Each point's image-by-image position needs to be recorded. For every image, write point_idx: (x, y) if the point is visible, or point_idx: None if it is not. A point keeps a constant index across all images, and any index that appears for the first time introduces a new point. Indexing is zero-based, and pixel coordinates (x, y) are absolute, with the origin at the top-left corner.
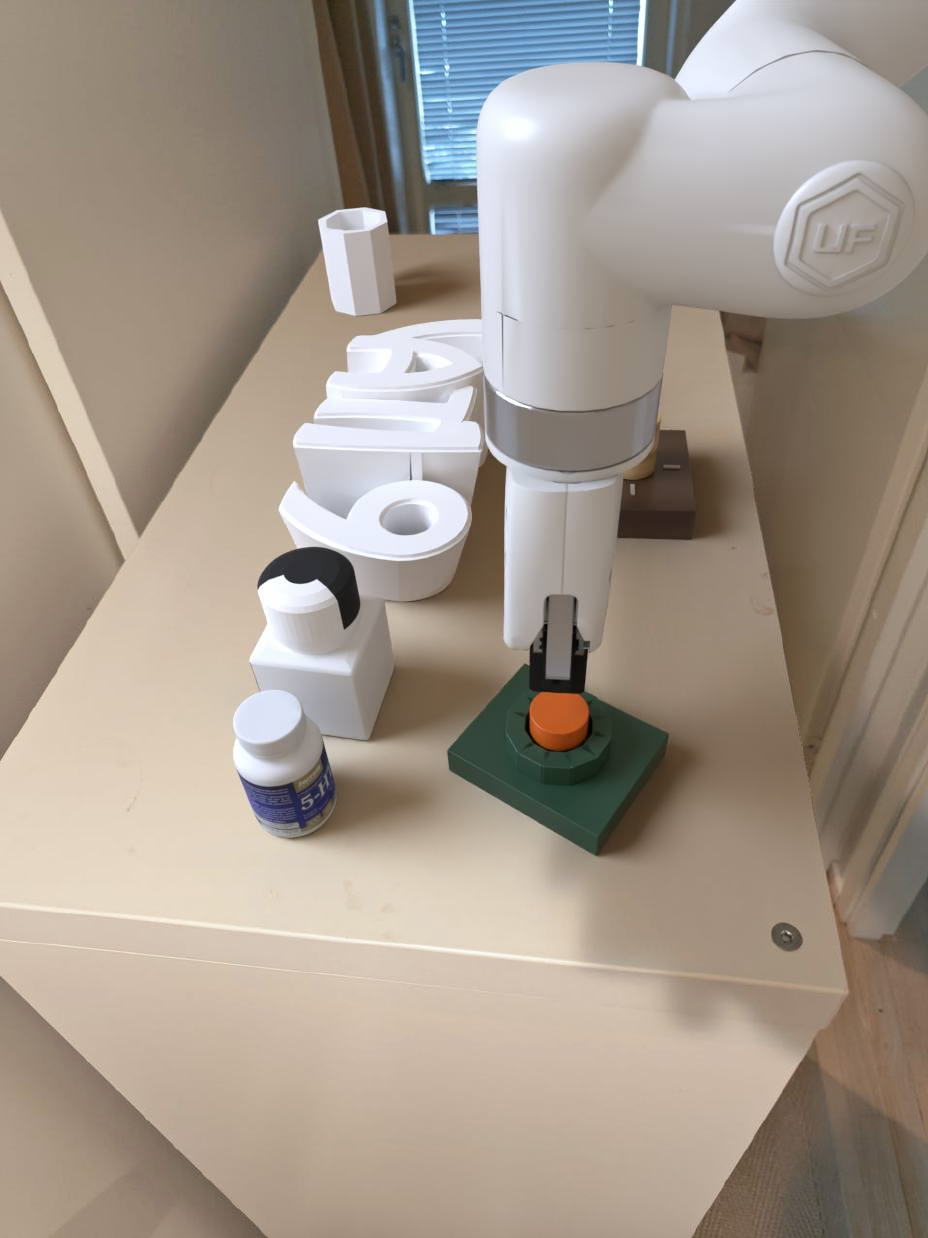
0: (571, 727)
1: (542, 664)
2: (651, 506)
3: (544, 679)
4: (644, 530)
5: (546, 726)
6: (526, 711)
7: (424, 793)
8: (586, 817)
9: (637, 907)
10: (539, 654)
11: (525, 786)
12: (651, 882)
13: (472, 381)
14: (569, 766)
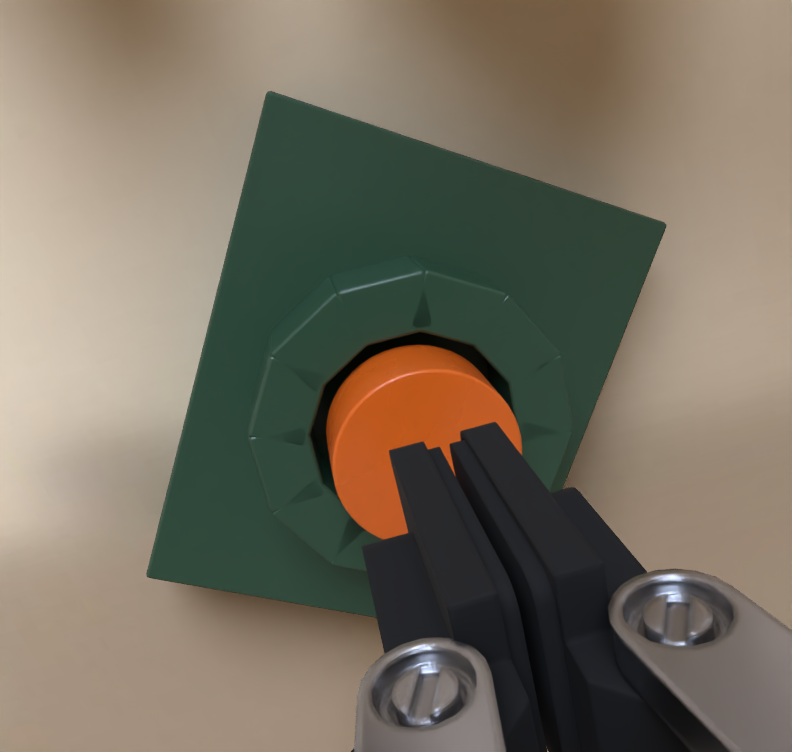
0: (372, 516)
1: (426, 578)
2: None
3: (370, 578)
4: None
5: (354, 444)
6: (438, 328)
7: (166, 48)
8: (190, 538)
9: (76, 635)
10: (440, 604)
11: (226, 366)
12: (146, 644)
13: None
14: (276, 506)
